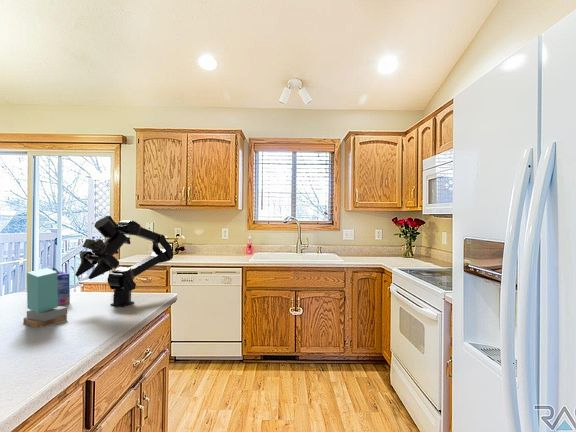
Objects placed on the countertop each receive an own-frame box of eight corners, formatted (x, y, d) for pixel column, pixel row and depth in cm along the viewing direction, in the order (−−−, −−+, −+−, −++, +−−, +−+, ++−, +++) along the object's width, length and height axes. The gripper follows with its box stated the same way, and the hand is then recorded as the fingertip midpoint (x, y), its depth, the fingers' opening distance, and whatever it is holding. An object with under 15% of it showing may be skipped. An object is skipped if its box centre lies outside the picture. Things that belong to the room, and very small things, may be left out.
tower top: (50, 312, 118) (50, 305, 118) (67, 314, 116) (67, 307, 116) (26, 318, 111) (26, 311, 111) (44, 321, 108) (44, 313, 108)
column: (46, 302, 116) (46, 268, 114) (57, 307, 114) (57, 272, 112) (27, 308, 111) (26, 272, 109) (38, 313, 108) (37, 276, 106)
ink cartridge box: (45, 301, 139) (45, 267, 139) (60, 299, 143) (61, 265, 143) (54, 305, 133) (55, 269, 133) (70, 303, 138) (70, 268, 138)
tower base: (53, 318, 119) (53, 311, 119) (66, 322, 115) (66, 315, 115) (23, 325, 112) (23, 317, 112) (36, 330, 107) (36, 322, 107)
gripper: (85, 230, 133) (53, 261, 123) (111, 232, 123) (79, 265, 113) (104, 248, 139) (75, 279, 130) (131, 251, 129) (102, 285, 120)
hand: (82, 277), depth 123 cm, fingers open, 9 cm apart
